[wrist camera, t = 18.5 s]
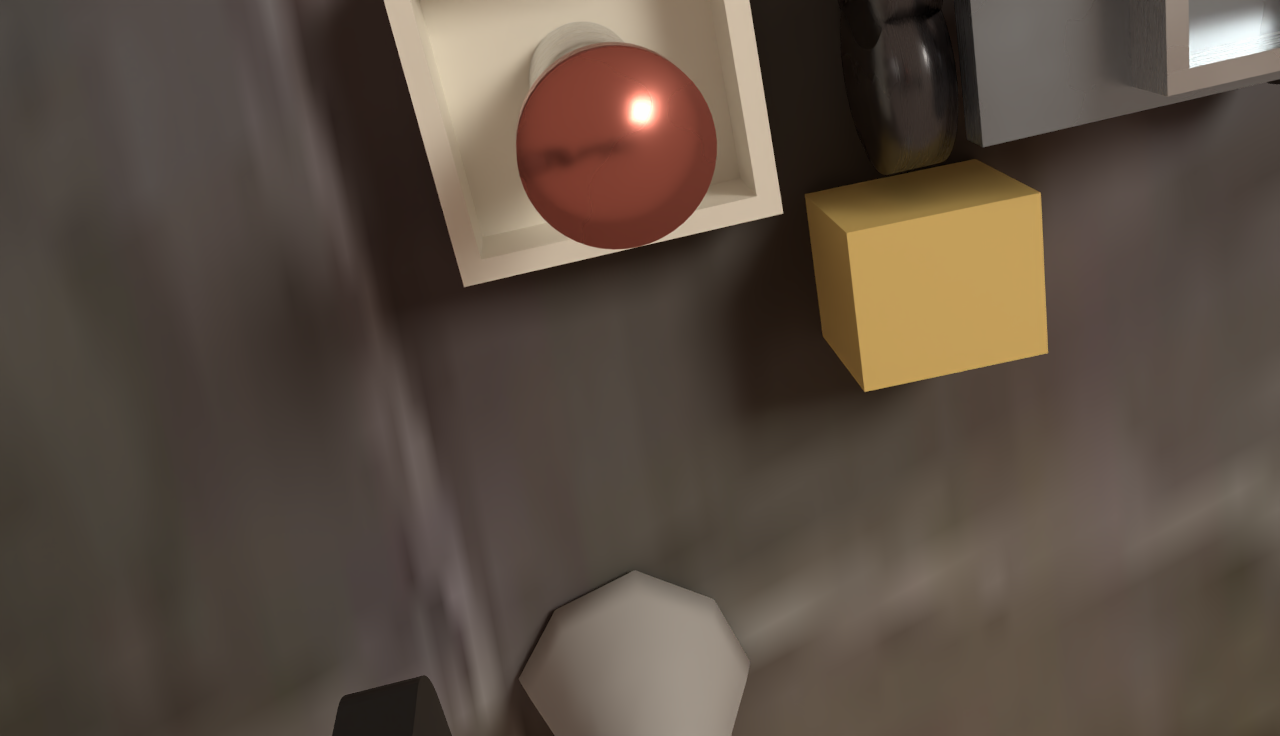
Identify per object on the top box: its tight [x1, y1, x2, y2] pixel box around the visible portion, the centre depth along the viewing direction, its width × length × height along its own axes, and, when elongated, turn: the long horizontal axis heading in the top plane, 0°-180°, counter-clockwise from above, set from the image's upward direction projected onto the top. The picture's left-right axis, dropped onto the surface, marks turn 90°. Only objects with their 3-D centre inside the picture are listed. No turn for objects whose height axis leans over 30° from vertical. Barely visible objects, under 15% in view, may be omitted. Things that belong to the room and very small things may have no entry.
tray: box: [384, 0, 783, 287], centre depth 29 cm, size 8×8×3 cm
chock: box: [805, 159, 1048, 392], centre depth 31 cm, size 5×4×4 cm
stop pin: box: [516, 22, 717, 250], centre depth 25 cm, size 4×4×10 cm
